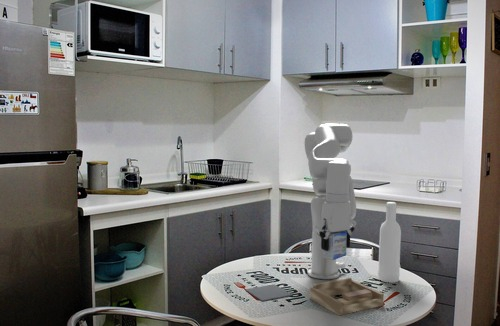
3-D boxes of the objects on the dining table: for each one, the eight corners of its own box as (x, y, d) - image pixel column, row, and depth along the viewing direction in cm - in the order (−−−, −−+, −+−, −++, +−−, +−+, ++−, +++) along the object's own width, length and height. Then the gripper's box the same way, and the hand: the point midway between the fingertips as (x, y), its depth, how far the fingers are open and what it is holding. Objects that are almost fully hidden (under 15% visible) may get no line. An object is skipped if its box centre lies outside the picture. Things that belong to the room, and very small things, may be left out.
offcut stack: (367, 301, 171) (368, 288, 170) (375, 305, 168) (375, 291, 167) (334, 308, 164) (335, 295, 164) (341, 312, 161) (342, 298, 160)
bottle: (391, 284, 189) (394, 205, 186) (373, 279, 194) (376, 202, 192) (403, 280, 194) (406, 203, 191) (385, 274, 200) (388, 200, 197)
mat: (274, 285, 186) (274, 284, 186) (292, 295, 175) (292, 294, 175) (245, 290, 180) (245, 289, 180) (262, 301, 170) (262, 300, 170)
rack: (352, 290, 181) (352, 277, 181) (383, 305, 167) (383, 290, 167) (310, 299, 172) (310, 284, 172) (339, 315, 159) (339, 300, 158)
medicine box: (333, 260, 167) (333, 235, 167) (322, 257, 171) (322, 232, 170) (346, 255, 173) (347, 231, 172) (335, 253, 176) (336, 228, 175)
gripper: (349, 194, 177) (347, 242, 179) (309, 198, 168) (308, 248, 170) (364, 197, 170) (362, 247, 172) (323, 201, 162) (322, 254, 163)
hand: (335, 247), depth 171 cm, fingers closed on medicine box, 8 cm apart
